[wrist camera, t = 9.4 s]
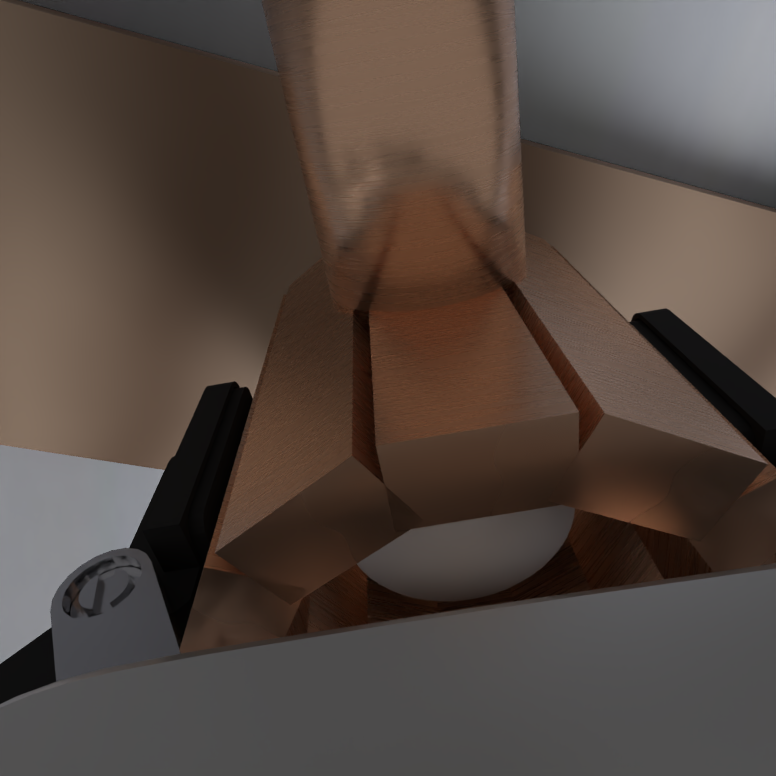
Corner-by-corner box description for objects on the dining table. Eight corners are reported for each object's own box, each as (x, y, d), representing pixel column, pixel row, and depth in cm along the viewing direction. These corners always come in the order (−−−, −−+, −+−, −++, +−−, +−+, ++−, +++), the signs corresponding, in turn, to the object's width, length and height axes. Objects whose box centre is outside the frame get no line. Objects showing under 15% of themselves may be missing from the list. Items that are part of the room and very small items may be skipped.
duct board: (-15, 406, 16) (-268, 649, 9) (-66, -23, 11) (-658, -131, 5) (684, 520, 20) (849, 751, 13) (874, 236, 15) (1284, 379, 8)
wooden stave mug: (311, 523, 15) (281, 856, 9) (141, 2, 9) (-312, -101, 3) (593, 477, 14) (767, 790, 8) (605, -94, 9) (1202, -434, 3)
